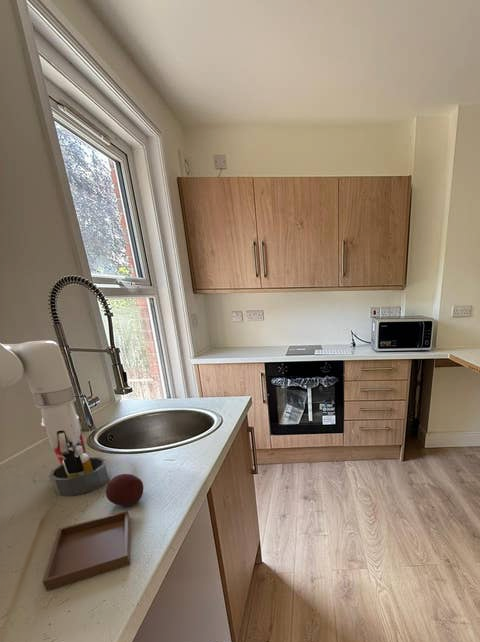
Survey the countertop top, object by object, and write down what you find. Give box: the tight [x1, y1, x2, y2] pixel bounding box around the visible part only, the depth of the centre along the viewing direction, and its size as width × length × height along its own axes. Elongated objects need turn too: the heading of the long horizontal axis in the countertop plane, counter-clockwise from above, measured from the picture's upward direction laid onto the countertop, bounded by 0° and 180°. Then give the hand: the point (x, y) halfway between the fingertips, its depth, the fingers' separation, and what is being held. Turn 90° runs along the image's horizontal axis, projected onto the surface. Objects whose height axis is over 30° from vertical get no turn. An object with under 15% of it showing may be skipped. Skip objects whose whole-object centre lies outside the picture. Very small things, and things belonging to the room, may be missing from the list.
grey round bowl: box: [48, 456, 111, 497], centre depth 87 cm, size 12×12×4 cm
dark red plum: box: [105, 473, 144, 507], centre depth 79 cm, size 7×8×7 cm
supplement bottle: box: [63, 445, 93, 478], centre depth 86 cm, size 5×5×10 cm
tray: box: [42, 510, 131, 592], centre depth 65 cm, size 12×15×2 cm
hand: (78, 466), depth 86 cm, fingers closed on supplement bottle, 5 cm apart
